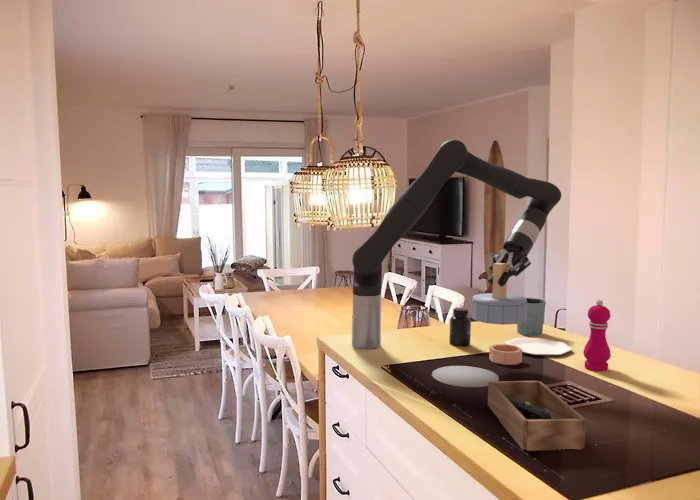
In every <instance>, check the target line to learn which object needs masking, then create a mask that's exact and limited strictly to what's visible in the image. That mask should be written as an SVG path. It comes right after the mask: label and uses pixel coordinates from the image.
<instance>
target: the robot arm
mask: <svg viewBox="0 0 700 500" xmlns="http://www.w3.org/2000/svg"><path fill="white" fill-rule="evenodd" d="M455 173H459V174H462V175H465V176H467V177H470V178H473V179H476V180H478V181H480V182H483V183H485V184H486V185H488V186H490V187H492V188H494V189H496V190H498V191H500V192H503V193H504V194H507V195H508V196H512V197H514V198H515V199H519V200H521V199H524V198H525V197H528V198H531V199H530V200H529V202H528V204H527V207H526V209H525V211H524V212H523V213H522V215H521V216H520V218H519V220H518V222H517V223H516V224H515V225H514V226H513V228H512V230H511V231H510V233H509V234H508V236H507V238H506V240H505V241H504V243H503V247H502V249H501V250H500V251H499V253H498V254H494V253H493V252H492V253H490V254H489V258H488V269H489V271H490V272H491V273H490V274H489V276H488V278H487V282H488V284H489V285H490V286H493V264H494V263H505V264H507V266H506V269H505V272H503V274H502V275H501V277H500V278H499V280H498V284H499V286H501V287H503V286H504V285H505V284H506V282H507V283H508V281H509V279H510V278H511V277H512V276H513V277H518V276H519V275H520V274H521V273H522V272H524V271H525V270H526V269H527V268H528V267H530V266H531V265H532V262H531V261H530V259H529V257H528V256H529V253H530V252H531V250H532V249H533V247H534V245H535V244H536V241H537V239H538V237H539V235H540V233H541V231H542V229H543V228H544V227H545V226H544V225H545V224H546V222H547V217H548V216H549V215H550V213H551V211H552V210H553V209H554V208H555V207H556V206H557V204H558V203H559V202H560V201H561V198H562V192H561V190H560V188H559V187H558V186H556V184H554V183H552V182H549V181H547V180H546V181H545V180H541V179H536V178H530V177H526V176H524V175H523V174H520V173H518V172H516V171H514V170H511V169H509V168H506V167H503V166H501V165H498V164H493V163H492V162H488V161H486V160H484V159H482V158H480V157H477V156H476V155H474V154H472V153H471V152H470V151H468V149H467V146H466V145H465V143H463V142H462V141H461V140H457V139H448V140H447V141H445V142H443V143H442V144H441V145H440V147H439V148H438V149H437V151H436V153H435V154H434V157H433V158H432V159H431V160H430V162H429V164H428V165H427V167H426V168H425V169H424V170H423V171H422V173H421V174H420V175H418V177H417V178H415V180H413V182H412V183H411V184H410V185H409V186H407V187H406V188H405V190H404V191H403V192H402V193H401V195H400V196H399V197H398V198H397V199H396V200H395V202H394V203H392V204H393V205H392V206H391V207H390V208H389V210H388V212H387V213H386V215H385V216H384V218H383V219H382V221H381V222H380V224H379V226H378V227H377V228H376V230H375V231H374V232H373V234H372V235H371V236H369V238H368V239H366V241H365V242H364V243H363V244H362V245H360V246H358V247H357V248H356V249H355V251H354V253H353V255H352V260H351V261H352V266H353V280H352V281H353V282H352V316H351V344H352V348H353V349H360V350H373V349H378V348H381V346H382V345H381V341H382V339H381V337H382V336H381V335H382V334H381V333H382V332H381V331H382V330H381V329H382V328H381V327H382V283H383V282H382V280H383V279H382V278H383V277H382V274H383V273H382V272H383V261H384V260H385V258H386V257H387V256H388V254H389V252H390V251H391V249H392V248H394V246H395V245H396V244H397V242H399V241H400V239H402V237H404V236H405V235H406V234H407V233H408V232H409V231H410V230H411V229H412V228H413V227H414V226H415V224H416V223H417V222H418V221H419V220H420V219H421V217H422V216H423V215H424V214H425V212H426V211H427V210H428V208H430V205H431V204H432V203H433V202H434V200H435V198H436V196H437V195H438V193H439V191H440V190H441V188H442V187H443V186H444V184H445V183H446V182H448V180H449V179H450V178H451V177H452V176H453V175H454V174H455Z"/></svg>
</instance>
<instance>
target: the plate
mask: <svg viewBox="0 0 700 500" xmlns="http://www.w3.org/2000/svg"><path fill="white" fill-rule="evenodd" d="M504 344H508V345H513V346H518V347H520V348H521V349H522V354H526V355H531V356H539V357H540V356H542V357H543V356H546V357H547V356H549V357H550V356H553V357H554V356H556V357H559V356H563V355H565V354H568V353H571V352H573V348H571V346H569V345H567V344H566V343H565V342H562V341H558V340H553V339H547V338H543V337H516V338H513V339H510V340H506V341H504Z"/></svg>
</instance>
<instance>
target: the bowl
mask: <svg viewBox="0 0 700 500" xmlns="http://www.w3.org/2000/svg"><path fill="white" fill-rule="evenodd" d="M488 352H489V353H488V354H489V356H488V357H489V359H488V360H490V361H491V362H492V363H494V364H499V365H506V366H508V365H510V366H511V365H512V366H513V365H519V364H523V353H522V349H521V348H520V347H518V346H513V345H508V344H498V343H497V344H493V345H490V346H489V351H488Z"/></svg>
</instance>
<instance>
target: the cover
mask: <svg viewBox="0 0 700 500" xmlns="http://www.w3.org/2000/svg"><path fill="white" fill-rule="evenodd" d="M506 266H507V264H505V263H494V264H493V285H492V290H491V291H492V293H491V292H490V293H488V292H486V293H479V294H474V295H473V296H472V300H471V315H470V316H471V318H470V319H471V320H474V321H476V322H478V323H484V324H490V325H517V324H519V323H523V322H526V320H527V298H528V297H525V296H522V295H518V294H514V293H507V285H508V281H507V282H506V284H505V285H504V286H503V287H501V286H499V284H498V280H499V278H500V277H501V275H502V274H503V272H505V269H506Z"/></svg>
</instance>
